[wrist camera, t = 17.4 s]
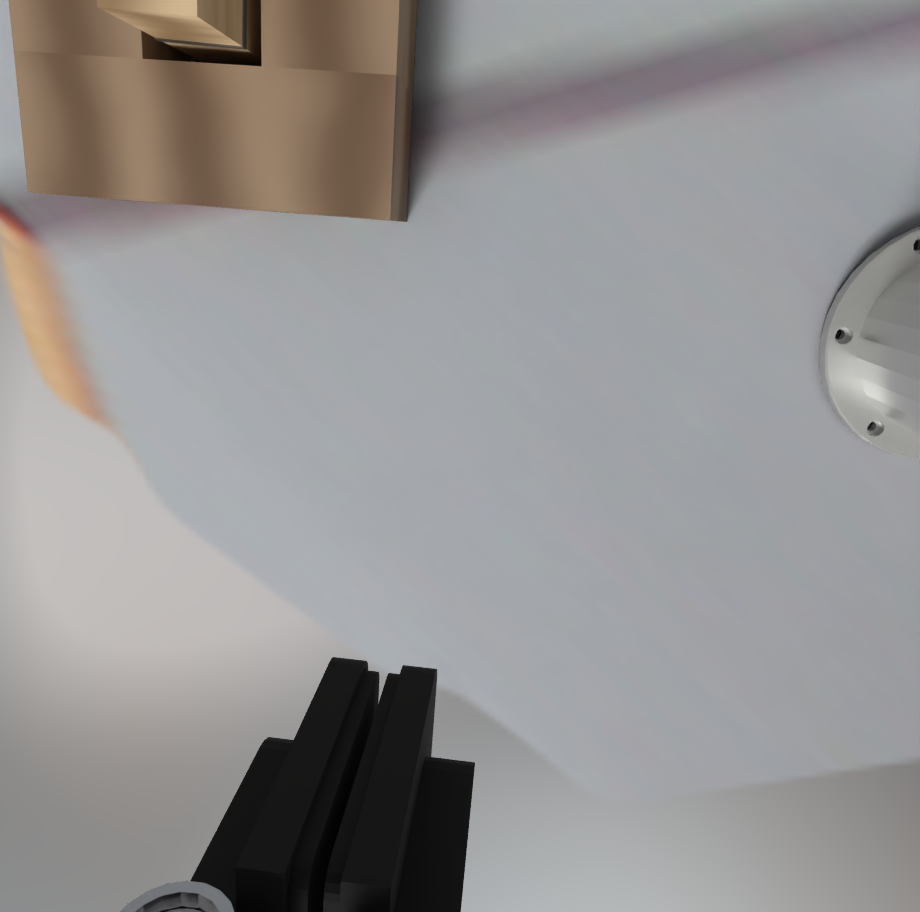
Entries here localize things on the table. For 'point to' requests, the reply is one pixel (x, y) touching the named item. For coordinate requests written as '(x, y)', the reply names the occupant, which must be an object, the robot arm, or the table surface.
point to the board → (222, 110)
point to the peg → (198, 26)
